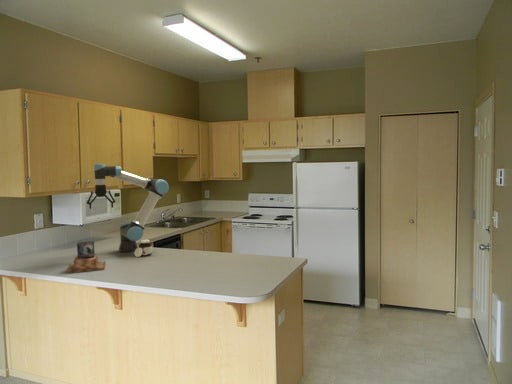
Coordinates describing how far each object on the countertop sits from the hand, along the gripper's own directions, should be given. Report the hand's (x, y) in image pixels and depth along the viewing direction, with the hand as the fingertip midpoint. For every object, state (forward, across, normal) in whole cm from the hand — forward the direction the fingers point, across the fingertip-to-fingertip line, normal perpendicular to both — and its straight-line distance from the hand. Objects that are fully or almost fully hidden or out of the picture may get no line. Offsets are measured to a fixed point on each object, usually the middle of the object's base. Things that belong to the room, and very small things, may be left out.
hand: (101, 212), depth 316 cm
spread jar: (+35, +29, -4) cm, 46 cm away
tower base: (+35, -10, -28) cm, 46 cm away
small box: (+27, -10, -28) cm, 40 cm away
